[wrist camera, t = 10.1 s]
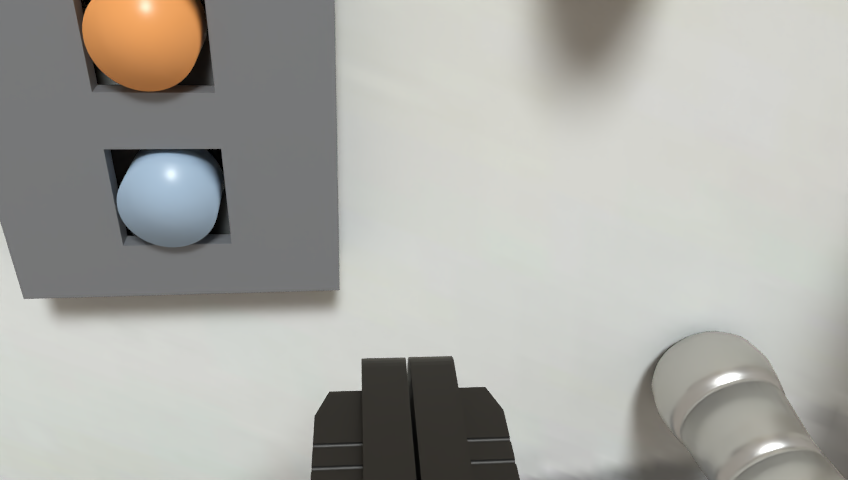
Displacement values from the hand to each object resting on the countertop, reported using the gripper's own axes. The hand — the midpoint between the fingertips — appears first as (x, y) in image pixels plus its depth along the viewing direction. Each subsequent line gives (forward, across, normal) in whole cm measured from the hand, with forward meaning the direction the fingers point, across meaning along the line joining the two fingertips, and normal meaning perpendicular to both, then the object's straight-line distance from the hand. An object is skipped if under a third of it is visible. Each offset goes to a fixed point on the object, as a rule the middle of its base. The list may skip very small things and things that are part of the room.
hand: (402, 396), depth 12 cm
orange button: (+21, +9, 0) cm, 22 cm away
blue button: (+21, +9, +7) cm, 23 cm away
